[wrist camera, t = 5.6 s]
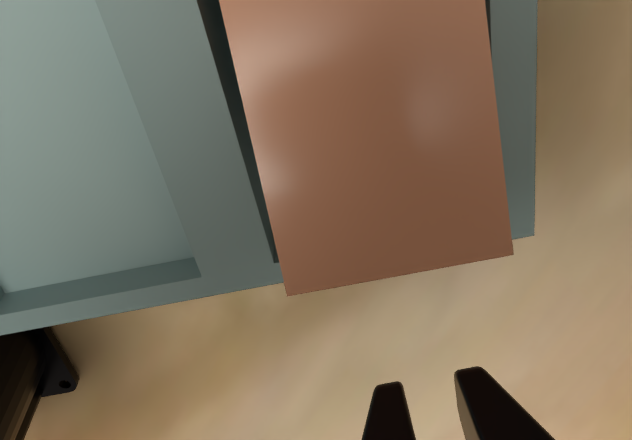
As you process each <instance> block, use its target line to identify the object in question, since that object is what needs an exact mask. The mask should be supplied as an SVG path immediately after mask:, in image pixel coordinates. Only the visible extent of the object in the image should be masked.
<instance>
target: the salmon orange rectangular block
mask: <svg viewBox="0 0 632 440" xmlns="http://www.w3.org/2000/svg"><path fill="white" fill-rule="evenodd" d="M219 3H220V7H221V12H222V16H223V20H224V25H225V29H226V33H227V38H228V42H229V46H230V51H231V55H232V59H233V64H234V68H235V72H236V77H237V81H238V85H239V90H240V94H241V98H242V103H243V107H244V111H245V116H246V120H247V124H248V129H249V133H250V137H251V141H252V146H253V150H254V154H255V159H256V163H257V167H258V172H259V176H260V180H261V185H262V189H263V193H264V198H265V202H266V206H267V211H268V215H269V219H270V224H271V228H272V232H273V237H274V241H275V245H276V250H277V254H278V258H279V263H280V267H281V271H282V276H283V280H284V284H285V289H286V293H287V296H292V295H297V294H303V293H308V292H314V291H319V290H324V289H330V288H335V287H341V286H346V285H352V284H357V283H362V282H368V281H373V280H379V279H384V278H390V277H395V276H401V275H406V274H411V273H417V272H422V271H428V270H433V269H439V268H444V267H450V266H455V265H460V264H466V263H471V262H477V261H482V260H488V259H493V258H499V257H504V256H509V255H514V254H513V245H512V236H511V228H510V219H509V210H508V201H507V192H506V183H505V174H504V165H503V157H502V148H501V139H500V130H499V121H498V112H497V103H496V94H495V86H494V77H493V68H492V59H491V50H490V41H489V32H488V23H487V14H486V6H485V0H219Z"/></svg>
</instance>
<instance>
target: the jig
mask: <svg viewBox="0 0 632 440" xmlns="http://www.w3.org/2000/svg"><path fill="white" fill-rule="evenodd" d="M485 6H486V14H487V23H488V32H489V41H490V50H491V59H492V68H493V77H494V86H495V94H496V103H497V112H498V121H499V130H500V139H501V148H502V157H503V165H504V174H505V183H506V192H507V201H508V210H509V219H510V228H511V236H512V240H513V239H518V238H523V237H529V236H534V221H535V147H536V73H537V0H485ZM283 282H284V280H283V276H282V271H281V267H280V263H279V258H278V254H277V250H276V245H275V241H274V237H273V232H272V228H271V224H270V219H269V215H268V211H267V206H266V202H265V198H264V193H263V189H262V185H261V180H260V176H259V172H258V167H257V163H256V159H255V154H254V150H253V146H252V141H251V137H250V133H249V129H248V124H247V120H246V116H245V111H244V107H243V103H242V98H241V94H240V90H239V85H238V81H237V77H236V72H235V68H234V64H233V59H232V55H231V51H230V46H229V42H228V38H227V33H226V29H225V25H224V20H223V16H222V12H221V7H220V3H219V0H0V335H5V334H11V333H16V332H21V331H27V330H32V329H37V328H43V327H48V326H53V325H59V324H64V323H69V322H75V321H80V320H85V319H91V318H96V317H101V316H107V315H112V314H117V313H123V312H128V311H133V310H139V309H144V308H149V307H155V306H160V305H165V304H171V303H176V302H181V301H187V300H192V299H198V298H203V297H208V296H214V295H219V294H224V293H230V292H235V291H240V290H246V289H251V288H256V287H262V286H267V285H272V284H278V283H283Z"/></svg>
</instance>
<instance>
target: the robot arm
mask: <svg viewBox="0 0 632 440" xmlns="http://www.w3.org/2000/svg"><path fill="white" fill-rule="evenodd" d="M78 381H79V376H78V374H77V372H76V371H75V369H74V367H73V366H72V364H71V362H70V361H69V359H68V358H67V356H66V354H65V353H64V351H63V349H62V348H61V346H60V344H59V343H58V341H57V339H56V338H55V336H54V334H53V333H52V331H51V329H50V328H49V326H48V327H43V328H37V329H32V330H27V331H21V332H16V333H11V334H5V335H0V440H24V438H25V436H26V433H27V431H28V428H29V426H30V423H31V421H32V418H33V416H34V413H35V411H36V408H37V406H38V403H39V401H40V398H41V397H45V396H50V395H56V394H62V393H67V392H71V391H74V390H75V389H76V387H77V384H78ZM454 381H455V389H456V398H457V407H458V412H459V417H460V421H461V424H462V428H463V432H464V435H465V439H466V440H555V439H554V438H553V437H552V436H551V435H550V434H549V433H548V432H547V431H546V430H545V429H544V428H543V427H542V426H541V425H540V424H539V423H538V422H537V421H536V420H535V419H534V418H533V417H532V416H531V415H530V414H529V413H528V412H527V411H526V410H525V409H524V408H523V407H522V406H521V405H520V404H519V403H518V402H517V401H516V400H515V399H514V398H513V397H512V396H511V395H510V394H509V393H508V392H507V391H506V390H505V389H504V388H503V387H502V386H501V385H500V384H499V383H498V382H497V381H496V380H495V379H494V378H493V377H492V376H491V375H490V374H489V373H488V372H487V371H485V370H484V369H483V368H481V367H479V366H476V367H471V368H465V369H460V370H457V371H456V372H455V374H454ZM362 440H416V438H415V434H414V430H413V426H412V422H411V417H410V413H409V409H408V405H407V401H406V397H405V393H404V388H403V385H402V383H401V382H397V381H396V382H391V383H386V384H380V385H377V386H376V387H375V389H374V392H373V396H372V400H371V404H370V408H369V412H368V416H367V420H366V424H365V428H364V432H363V436H362Z"/></svg>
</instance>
